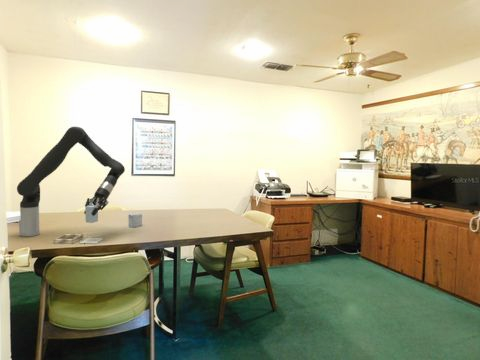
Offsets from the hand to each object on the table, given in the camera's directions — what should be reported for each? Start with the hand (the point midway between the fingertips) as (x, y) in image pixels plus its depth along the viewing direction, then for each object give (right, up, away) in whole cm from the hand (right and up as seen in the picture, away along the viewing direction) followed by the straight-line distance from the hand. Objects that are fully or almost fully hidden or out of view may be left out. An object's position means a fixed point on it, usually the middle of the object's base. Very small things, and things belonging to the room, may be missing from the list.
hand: (89, 214), depth 171 cm
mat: (0, -16, +3) cm, 16 cm away
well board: (-13, -15, +2) cm, 20 cm away
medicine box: (+12, -13, +40) cm, 44 cm away
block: (0, -4, +2) cm, 5 cm away
